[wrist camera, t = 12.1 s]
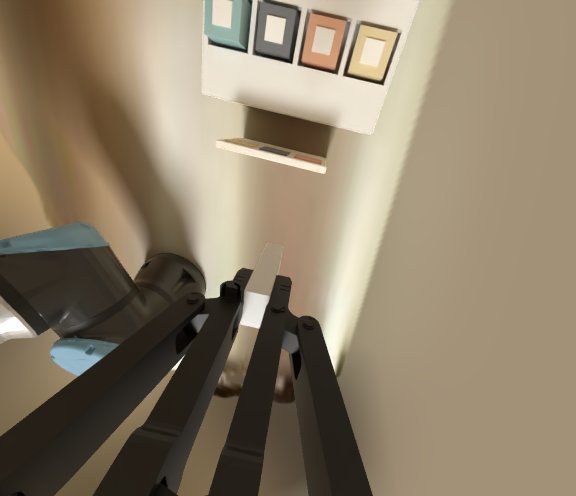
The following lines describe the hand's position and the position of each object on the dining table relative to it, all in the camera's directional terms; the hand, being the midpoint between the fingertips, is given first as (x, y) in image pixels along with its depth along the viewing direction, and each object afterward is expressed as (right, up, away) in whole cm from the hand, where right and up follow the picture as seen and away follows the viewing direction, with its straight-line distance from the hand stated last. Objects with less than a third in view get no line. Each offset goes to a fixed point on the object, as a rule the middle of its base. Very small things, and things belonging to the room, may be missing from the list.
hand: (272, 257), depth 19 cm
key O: (0, +28, +11) cm, 30 cm away
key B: (+6, +27, +11) cm, 29 cm away
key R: (-5, +29, +10) cm, 31 cm away
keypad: (+3, +28, +12) cm, 31 cm away
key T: (+12, +25, +10) cm, 30 cm away
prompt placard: (+1, +17, +18) cm, 25 cm away
